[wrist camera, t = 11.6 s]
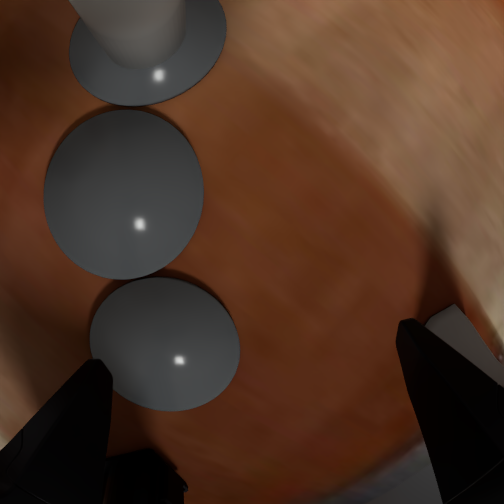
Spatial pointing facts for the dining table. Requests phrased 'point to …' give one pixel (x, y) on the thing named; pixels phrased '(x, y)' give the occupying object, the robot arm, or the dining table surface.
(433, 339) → the robot arm
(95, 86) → the coaster
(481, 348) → the flask
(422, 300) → the dining table surface
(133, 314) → the coaster
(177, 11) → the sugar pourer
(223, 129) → the dining table surface
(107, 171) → the coaster mid
